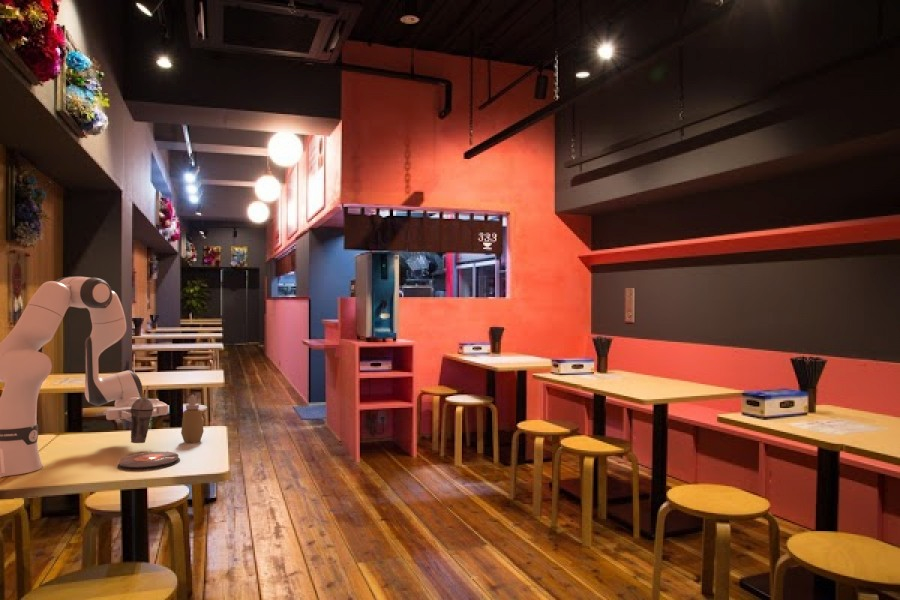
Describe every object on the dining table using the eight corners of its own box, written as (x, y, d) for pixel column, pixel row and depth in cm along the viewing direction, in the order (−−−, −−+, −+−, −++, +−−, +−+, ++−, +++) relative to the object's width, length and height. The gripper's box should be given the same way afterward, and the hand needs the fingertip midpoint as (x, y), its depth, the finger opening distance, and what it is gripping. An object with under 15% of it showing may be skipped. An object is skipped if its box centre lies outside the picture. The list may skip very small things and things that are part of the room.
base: (104, 470, 202) (104, 469, 202) (137, 456, 221) (137, 455, 221) (162, 471, 201) (162, 470, 201) (190, 456, 220) (190, 455, 220)
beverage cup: (122, 441, 222) (129, 384, 223) (140, 439, 228) (146, 384, 230) (135, 444, 219) (143, 386, 220) (153, 442, 225) (160, 386, 227)
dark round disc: (106, 468, 202) (107, 464, 202) (138, 454, 220) (138, 450, 220) (161, 468, 201) (161, 464, 201) (188, 455, 219) (188, 451, 219)
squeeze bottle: (176, 443, 241) (176, 396, 241) (190, 438, 249) (190, 393, 249) (194, 444, 239) (194, 397, 239) (208, 440, 246) (208, 394, 246)
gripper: (102, 403, 228) (108, 408, 217) (162, 398, 241) (171, 402, 230) (101, 420, 228) (108, 426, 217) (162, 414, 241) (171, 420, 230)
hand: (141, 414), depth 224 cm, fingers closed on beverage cup, 7 cm apart
